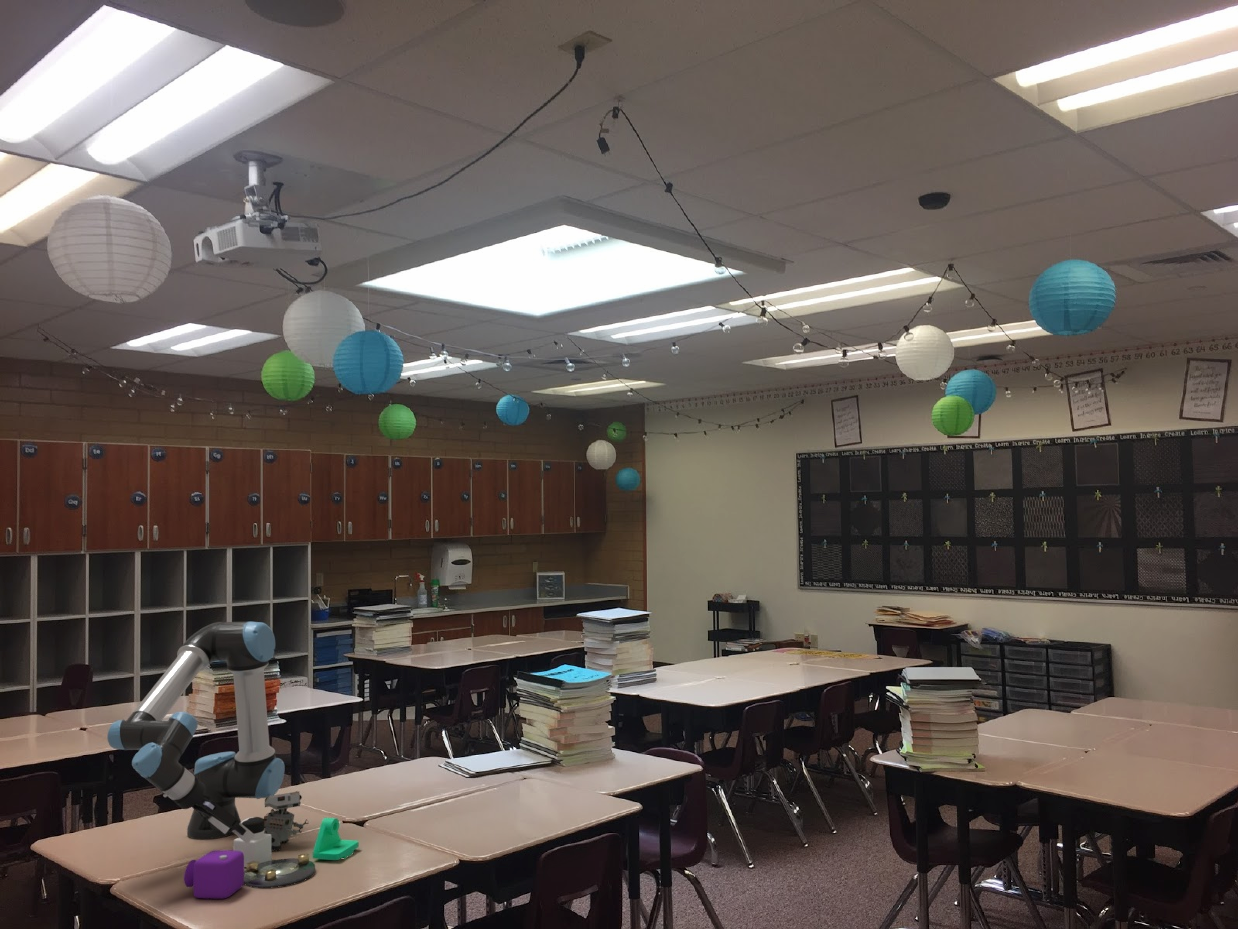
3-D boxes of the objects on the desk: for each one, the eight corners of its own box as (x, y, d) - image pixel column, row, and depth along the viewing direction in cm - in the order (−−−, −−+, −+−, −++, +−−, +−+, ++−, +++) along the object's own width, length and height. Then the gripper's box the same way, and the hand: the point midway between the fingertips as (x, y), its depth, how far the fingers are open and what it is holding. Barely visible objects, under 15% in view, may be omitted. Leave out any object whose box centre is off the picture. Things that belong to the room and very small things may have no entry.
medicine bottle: (271, 860, 264) (272, 816, 265) (254, 869, 257) (254, 823, 258) (250, 858, 266) (251, 814, 267) (232, 866, 259) (233, 821, 260)
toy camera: (192, 887, 244) (192, 847, 245) (246, 884, 245) (247, 844, 246) (176, 903, 233) (176, 861, 234) (233, 900, 235) (234, 858, 235)
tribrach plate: (230, 877, 251) (230, 863, 251) (293, 859, 264) (293, 846, 264) (262, 893, 239) (263, 879, 239) (327, 874, 252) (327, 860, 252)
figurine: (300, 851, 271) (300, 797, 273) (258, 852, 271) (259, 798, 272) (308, 841, 281) (308, 789, 282) (268, 842, 280) (269, 790, 281)
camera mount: (337, 864, 260) (337, 825, 261) (312, 862, 262) (312, 824, 263) (360, 850, 272) (360, 813, 272) (336, 848, 273) (336, 812, 274)
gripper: (154, 793, 255) (209, 837, 265) (194, 810, 238) (251, 856, 248) (175, 769, 260) (228, 813, 269) (215, 784, 243) (270, 831, 252)
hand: (239, 834), depth 259 cm, fingers open, 13 cm apart
